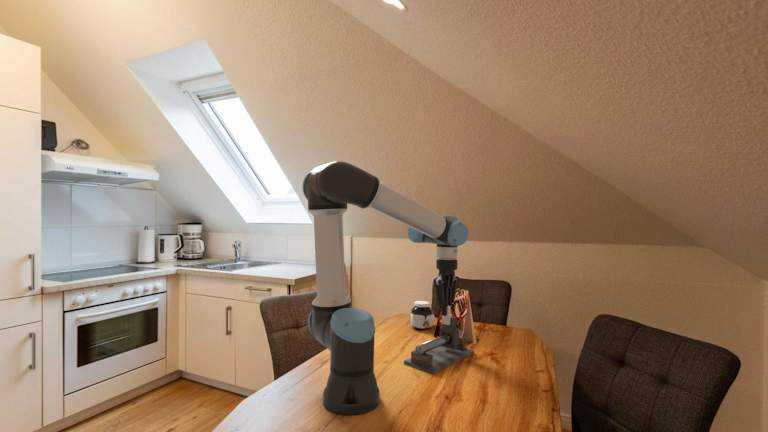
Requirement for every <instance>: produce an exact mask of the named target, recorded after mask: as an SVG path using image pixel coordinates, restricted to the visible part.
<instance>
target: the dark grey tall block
mask: <svg viewBox="0 0 768 432" xmlns="http://www.w3.org/2000/svg"><path fill="white" fill-rule="evenodd" d="M441 324H442V323H441ZM438 329H439V330H438V331H439V336H438V337H440V336H443V335H445V334H447V333H449V334H452V342H450V343H447V344H444V345H442V346H443V347H447V348H450V349H454V350H455V349H457V348H459V330H460V329H458V328H457V317H456V316H453V315H450V325H446V324H442V326H441V327H439V328H438Z"/></svg>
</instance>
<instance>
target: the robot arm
mask: <svg viewBox="0 0 768 432" xmlns="http://www.w3.org/2000/svg"><path fill="white" fill-rule="evenodd" d="M302 181H303V182H302V192H303V196H304V197H305V198H306V200H307V209H308V212H309V214H311V215H312V217H313V229H314V231H313V232H314V233H313V234H314V252H315V253H314V257H315V259H314V260H315V281H316V284H315V285H316V297H315V298H314V299H313V300H312V301H311V305H312V306H311V311H310V313H309V314H308V319H307V325H308V330H309V332H310V334H311V335H312V337H313V338H314V339H315V340H316V341H317V342H319V344H321V345H323V346H324V347H325V348H326V349H327V350H329V352H330V357H329V359H330V360H329V361H330V367H329V368H330V371H329V374H328V378H327V381H326V385H325V388H324V390H323V391H322V403H323V406H324V407H325V408H326V410H328V411H330V412H332V413H335V414H339V415H346V416H352V415H353V416H355V415H356V416H357V415H362V414H365V413H368V412H371V411H372V410H374V409H375V408H377V407H378V405H379V404H380V399H381V397H380V396H381V393H380V388H379V387H378V382H377V379H376V374H375V369H374V367H375V366H374V365H375V364H374V363H375V334H376V326H375V318H374V316H373V315H372V314H371V312H368V311H366V310H365V309H360V308H357V307H352V299H351V297H349V296H348V295H347V294H346V293H347V292H346V272H345V271H346V270H345V269H346V268H345V266H346V264H345V243H344V242H345V240H344V218H343V216H344V214H345V213H346V212H347V211H348V204H349V205H352V206H355V207H358V208H360V209H362V210H364V209H367V208H368V209H370V210H373V211H375V212H376V213H379V214H381V215H384V216H385V217H388V218H389V219H392V220H394V221H396V222H397V223H400V224H403V225H404V226H406V227H408V228H407V235H408V236H407V237H408V239H409V240H410V242H411V243H415V244H421V243H422V244H423V243H424V244H435V245H436V258H437V259H436V261H435V262H436V263H435V266H436V269H437V270H438V273H437V274H438V275H437V279H436V278H434V280H433V283H434V285H435V292H436V300H437V305H439V306H441V324H446V325H450V316H451V315H452V314H451V313H452V311H451V307H454V305H455V301H456V294H457V293H456V292H457V287H458V282H459V276H457V275H456V272H455V271H457V270H458V260H457V259H458V252H459V251H458V247H459V246H463V245H465V244H466V242H467V241H468V238H469V229H468V227H467V224H465V223H464V222H461V221H459V220H458V217H457V216H454V215H451V216H450V215H440V214H439V213H436V212H435V211H433V210H431V209H429V208H428V207H426V206H424V205H422V204H419V203H418V202H416V201H415V200H413V199H410V198H409V197H407V196H404V195H403V194H401V193H400V192H397V191H395V190H393V188H392V189H391V188H390V187H387V186H386V185H384V184H382V183H381V179H379V178H378V177H377V176H375V175H373V174H372V173H369V172H368V171H366V170H364V169H362V168H360V167H358V166H356V165H354V164H351V163H348V162H346V161H340V160H336V161H334V160H333V161H331V162H329V163H325V164H322V165H318V166H315V167H314V168H312V169H311V170H310V171H308V172H307V173H306V175H305V176H304V178H303V180H302Z"/></svg>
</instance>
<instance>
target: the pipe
mask: <svg viewBox="0 0 768 432" xmlns="http://www.w3.org/2000/svg"><path fill="white" fill-rule="evenodd" d="M458 330H459V338H462V337H463V332H462V330H460V329H458ZM450 342H452V334H449V333H447V334H445V335H443V336H440V337H439V336H438V337H435V338H433V339H430V340H428V341H425V342H423V343H421V344H417V345H416V346H415V350H416V352H417V354H419V355H421V354H424V353H426V352H428V351H431V350H433V349H435V348H437V347H440V346H442V345H444V344H447V343H450Z"/></svg>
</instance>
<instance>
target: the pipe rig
mask: <svg viewBox="0 0 768 432" xmlns="http://www.w3.org/2000/svg"><path fill="white" fill-rule="evenodd" d="M467 342H468V341H467V339H464V338H462V337H460V338H459V348H457V349H455V350H454V349H450V348H447V347H443V346H440V347H437V348H435V349H433V350H431V351H428V352H426V353H424V354H421V355H419V354H417V352H416V349H415V350H412V351H411V352H410V357H409V358H407V359H405V360H403V365H406V366H409V367H412V368H414V369H418V370H419V371H423V372H425V373H429V374H431V375H435V374H437V373H439V372H440V371H442V370H444V369H446V368H448V367H450V366H451V365H454V364H456V363H458V362H460V361H462V360H463V359H465V358H467V357H469V356H471V355H473V354H474V352H475V351H474V350H473V349H469V348H468V347H467V346H468V345H467Z"/></svg>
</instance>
